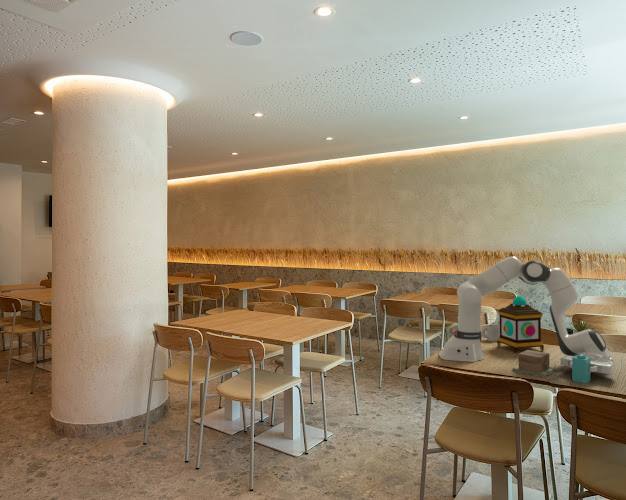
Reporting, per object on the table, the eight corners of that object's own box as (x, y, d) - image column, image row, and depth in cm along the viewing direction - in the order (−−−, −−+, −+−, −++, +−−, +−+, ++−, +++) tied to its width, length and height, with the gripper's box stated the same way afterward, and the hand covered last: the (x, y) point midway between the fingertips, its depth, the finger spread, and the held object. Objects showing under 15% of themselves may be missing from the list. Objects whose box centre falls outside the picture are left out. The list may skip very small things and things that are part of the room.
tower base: (543, 377, 200) (543, 359, 200) (512, 370, 210) (512, 353, 210) (555, 370, 209) (555, 353, 209) (525, 364, 219) (525, 348, 219)
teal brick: (586, 383, 191) (586, 357, 190) (572, 380, 195) (572, 355, 195) (590, 380, 194) (590, 355, 194) (576, 377, 199) (576, 353, 198)
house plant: (584, 353, 238) (584, 322, 238) (561, 347, 251) (561, 318, 250) (602, 350, 244) (602, 320, 243) (578, 344, 256) (578, 316, 256)
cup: (499, 342, 267) (499, 327, 266) (482, 341, 270) (481, 326, 270) (499, 339, 273) (499, 325, 273) (481, 338, 277) (481, 324, 276)
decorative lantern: (493, 345, 258) (492, 294, 257) (523, 343, 262) (523, 292, 261) (515, 354, 238) (515, 298, 238) (548, 352, 242) (547, 297, 241)
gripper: (566, 351, 211) (555, 356, 202) (617, 359, 195) (607, 365, 186) (566, 364, 211) (555, 370, 202) (617, 373, 196) (607, 380, 186)
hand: (580, 368), depth 194 cm, fingers closed on teal brick, 5 cm apart
